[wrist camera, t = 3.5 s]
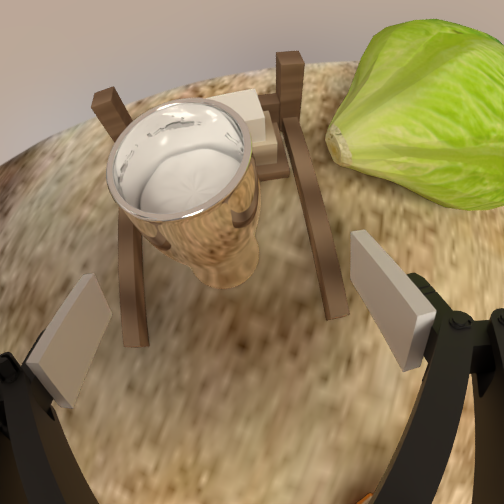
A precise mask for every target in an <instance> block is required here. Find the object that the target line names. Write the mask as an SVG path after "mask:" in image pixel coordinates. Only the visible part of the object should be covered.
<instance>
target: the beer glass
mask: <svg viewBox="0 0 504 504" xmlns="http://www.w3.org/2000/svg"><path fill="white" fill-rule="evenodd" d="M106 179H107V185H108V189H109V191H110V194H111V196H112V198H113V199H114V201H115V202H116V203H117V205H118V206H119V207H120V208H121V209H122V210H123V211H124V212H125V214H126V215H127V217H128V218H129V219H130V221H131V222H132V223H133V224H134V226H135V227H136V228H137V229H138V231H139V232H140V233H141V234H142V235H143V236H144V237H145V238H146V239H147V240H148V241H149V242H150V243H151V244H152V245H153V246H154V247H155V248H157V249H158V250H159V251H160V252H162V253H163V254H164V255H166V256H167V257H169V258H171V259H173V260H175V261H177V262H179V263H181V264H184V265H187V266H190V267H191V269H192V271H193V273H194V275H195V276H196V277H197V278H198V279H199V280H200V281H201V282H202V283H204V284H205V285H207V286H210V287H213V288H217V289H229V288H233V287H236V286H238V285H240V284H242V283H244V282H245V281H246V280H247V279H248V278H249V277H250V276H251V275H252V274H253V272H254V271H255V269H256V267H257V264H258V261H259V246H258V243H257V240H256V238H255V237H254V234H255V231H256V228H257V225H258V220H259V215H260V208H261V190H260V181H259V174H258V169H257V164H256V159H255V155H254V152H253V148H252V139H251V134H250V131H249V129H248V126H247V124H246V123H245V121H244V120H243V118H242V117H241V116H240V115H239V114H238V113H237V112H236V111H234V110H233V109H232V108H230V107H229V106H227V105H225V104H223V103H220V102H218V101H214V100H210V99H205V98H183V99H177V100H173V101H169V102H166V103H163V104H160V105H158V106H156V107H154V108H152V109H150V110H148V111H146V112H145V113H143V114H142V115H140V116H139V117H137V118H136V119H135V120H134V121H133V122H131V123H130V124H129V125H128V126H127V127H126V128H125V130H124V131H123V132H122V133H121V134H120V136H119V137H118V139H117V140H116V142H115V144H114V146H113V148H112V150H111V152H110V155H109V158H108V162H107V168H106Z"/></svg>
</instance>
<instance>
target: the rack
mask: <svg viewBox="0 0 504 504" xmlns="http://www.w3.org/2000/svg"><path fill="white" fill-rule="evenodd" d="M304 66H305V63H304V61H303V59H302V57H301V55H300V53H299V51H288V52H276V93H273V94H265V95H257V96H258V99H259V102H260V105H261V108H262V110H263V111H269V114H270V117H271V121H272V125H273V129H274V132H275V136H276V140H277V163H273V164H266V165H260V166H257V169H258V174H259V181H266V180H273V179H280V178H287V177H289V175H290V169H289V165H288V161H287V157H286V153H285V150H284V146H283V142H282V139H281V135H280V131H282V132H283V136H284V139H285V143H286V147H287V150H288V154H289V158H290V161H291V165H292V169H293V173H294V177H295V181H296V185H297V188H298V192H299V196H300V201H301V205H302V209H303V213H304V217H305V221H306V226H307V230H308V234H309V239H310V243H311V248H312V252H313V257H314V261H315V266H316V271H317V275H318V280H319V285H320V290H321V295H322V300H323V305H324V310H325V316H326V320H331V319H336V318H341V317H344V316H347V315H349V314H350V313H349V308H348V303H347V298H346V294H345V289H344V284H343V280H342V275H341V271H340V266H339V262H338V258H337V254H336V249H335V245H334V241H333V237H332V233H331V229H330V225H329V221H328V218H327V214H326V210H325V206H324V203H323V199H322V195H321V192H320V188H319V185H318V181H317V178H316V174H315V171H314V168H313V164H312V161H311V158H310V154H309V151H308V148H307V145H306V142H305V139H304V135H303V132H302V129H301V126H300V123H299V119H300V109H301V99H302V88H303V77H304ZM91 108H92V110H93V111H94V113H95V114H96V116H97V117H98V119H99V120H100V122H101V123H102V125H103V126H104V128H105V129H106V131H107V132H108V134H109V135H110V137H111V138H112V139H113V141H114V142H116V140H117V139H118V137H119V136H120V134H121V133H122V132H123V131H124V130H125V128H126V127H127V126H128V125H129V124H130V123H131V122H133V120H132V119H131V117H130V115H129V113H128V111H127V110H126V108H125V106H124V104H123V103H122V101H121V99H120V97H119V95H118V93H117V91H116V90H115V88H114V87H110V88H107V89H105V90H102V91H99V92H97V93H95V94H94V98H93V101H92V105H91ZM279 130H280V131H279ZM118 266H119V292H120V309H121V322H122V333H123V343H124V347H146V346H149V339H148V330H147V320H146V309H145V297H144V283H143V265H142V239H141V233H140V232H139V231H138V229H137V228H136V227H135V226H134V224H133V223H132V222H131V221H130V219H129V218H128V217H127V215H126V214H125V212H124V211H123V210H122V209H121V208H120V207H119V216H118Z"/></svg>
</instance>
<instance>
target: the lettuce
mask: <svg viewBox="0 0 504 504" xmlns="http://www.w3.org/2000/svg"><path fill="white" fill-rule="evenodd" d="M325 142H326V144H327V147H328V149H329V152H330V154H331V157H332V159H333V161H334V162H335V163H337V164H338V165H340V166H341V167H347V168H350V169H353V170H356V171H358V172H361V173H364V174H366V175H370V176H374V177H378V178H382V179H386V180H389V181H391V182H394V183H396V184H398V185H401V186H403V187H405V188H407V189H409V190H411V191H413V192H415V193H417V194H419V195H421V196H423V197H424V198H426V199H428V200H430V201H433V202H435V203H437V204H439V205H441V206H443V207H447V208H454V209H461V210H468V211H471V210H490V209H494V208H497V207H501V206H504V45H503V44H502V43H501V42H500V41H499V40H497V39H496V38H494V37H492V36H490V35H488V34H486V33H484V32H481V31H478V30H475V29H472V28H469V27H466V26H462V25H460V24H456V23H452V22H448V21H443V20H439V19H426V20H413V21H409V22H405V23H401V24H397V25H393V26H389V27H386V28H384V29H383V30H382V31H380V32H379V33H377V34H376V35H374V36H373V38H372V40H371V41H370V43H369V45H368V47H367V49H366V50H365V52H364V54H363V56H362V57H361V60H360V63H359V65H358V68H357V71H356V73H355V76H354V79H353V82H352V84H351V87H350V90H349V92H348V94H347V96H346V97H345V99H344V100H343V102H342V103H341V105H340V107H339V108H338V110H337V112H336V113H335V115H334V117H333V119H332V121H331V123H330V125H329V127H328V130H327V133H326V136H325Z"/></svg>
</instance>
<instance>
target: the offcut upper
mask: <svg viewBox="0 0 504 504" xmlns="http://www.w3.org/2000/svg"><path fill="white" fill-rule="evenodd" d="M205 99H210V100H214V101H218V102H220V103H223V104H225V105H227V106H229V107H230V108H232V109H233V110H234V111H236V112H237V113H238V114H239V115H240V116H241V117H242V118H243V120H244V121H245V123H246V124H247V126H248V129H249V131H250V134H251V139H252V143H256V142H262V141H266V135H265V116H264V113H263V110H262V108H261V105H260V102H259V99H258V96H257V93H256V90H255V89H249V90H244V91H238V92H233V93H228V94H223V95H218V96H214V97H209V98H205Z"/></svg>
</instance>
